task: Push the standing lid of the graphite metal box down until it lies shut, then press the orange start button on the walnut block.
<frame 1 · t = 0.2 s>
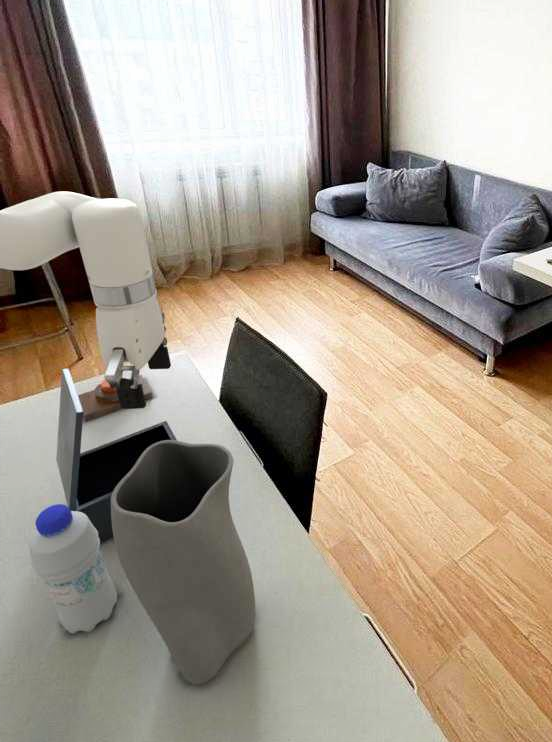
hand: (148, 386, 76), 23 cm above the table, tool pointing down, fingers open, 9 cm apart
bottle: (93, 615, 67), on the table
start button: (112, 385, 103), point 4 cm above the table, slide at 0.1 cm
vase: (212, 643, 65), on the table
lid: (68, 437, 73), point 17 cm above the table, hinge at 75.0°
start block: (116, 402, 105), on the table
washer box: (136, 499, 84), on the table
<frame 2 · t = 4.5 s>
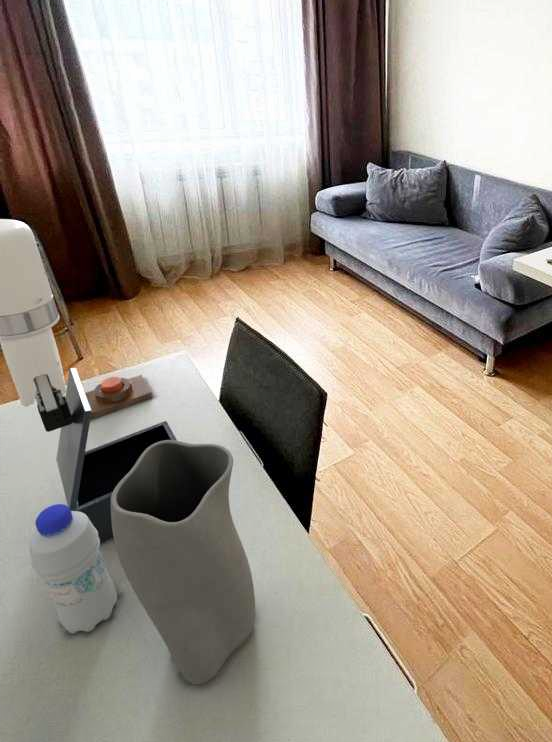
hand: (59, 424, 72), 20 cm above the table, tool pointing down, fingers closed
lid: (72, 436, 73), point 17 cm above the table, hinge at 71.7°
everything else where it was.
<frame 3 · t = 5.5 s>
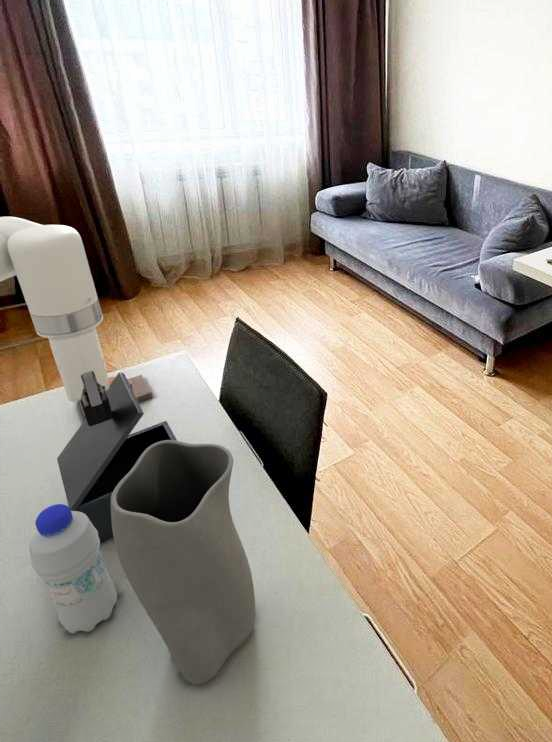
hand: (100, 419, 75), 18 cm above the table, tool pointing down, fingers closed
lid: (98, 437, 76), point 15 cm above the table, hinge at 47.8°, touching gripper
everything else where it was.
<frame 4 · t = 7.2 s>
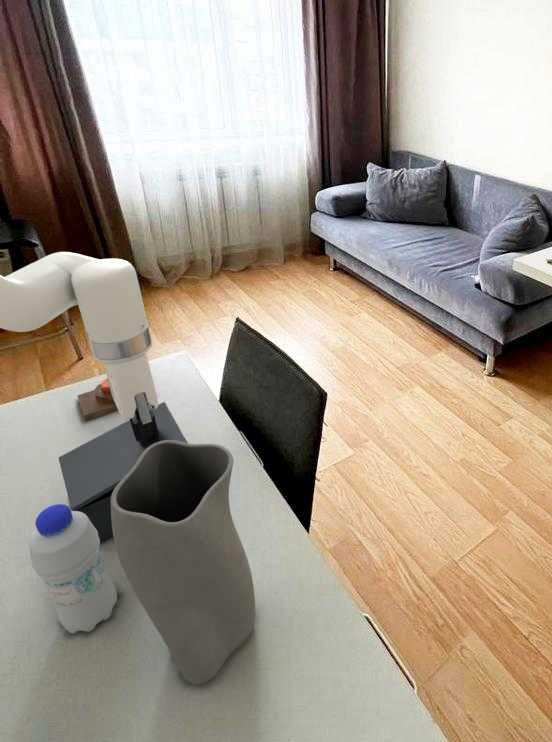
hand: (146, 435, 81), 12 cm above the table, tool pointing down, fingers closed
lid: (123, 451, 79), point 11 cm above the table, hinge at 11.6°, touching gripper
everything else where it was.
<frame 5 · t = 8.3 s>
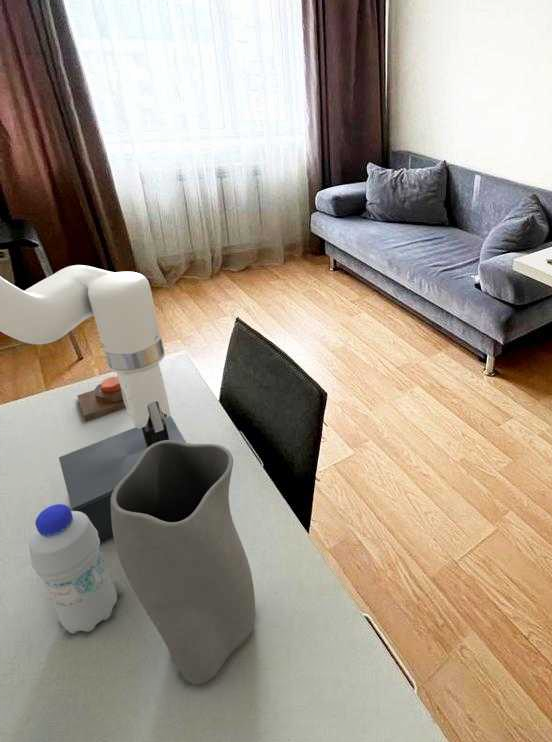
hand: (157, 442, 83), 10 cm above the table, tool pointing down, fingers closed
lid: (127, 457, 80), point 9 cm above the table, hinge at 1.0°, touching gripper
everything else where it was.
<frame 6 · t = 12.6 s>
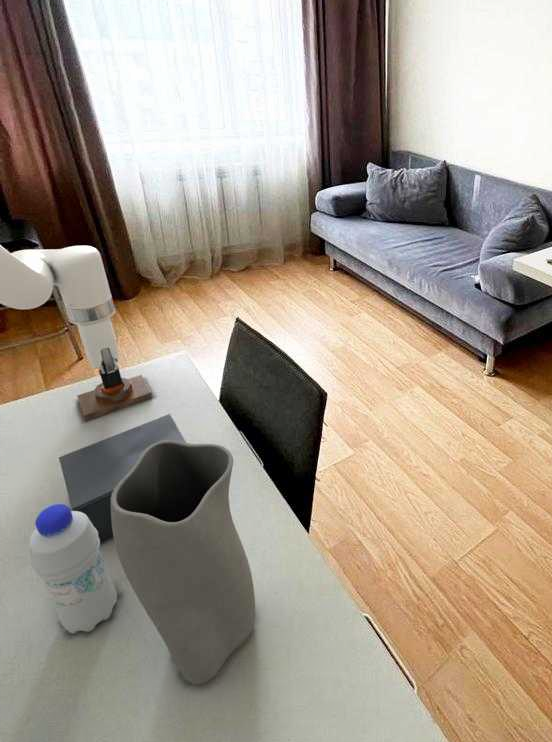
hand: (113, 384, 104), 5 cm above the table, tool pointing down, fingers closed
start button: (113, 388, 104), point 4 cm above the table, slide at -0.8 cm, touching gripper
lid: (127, 457, 80), point 9 cm above the table, hinge at 1.0°
everything else where it was.
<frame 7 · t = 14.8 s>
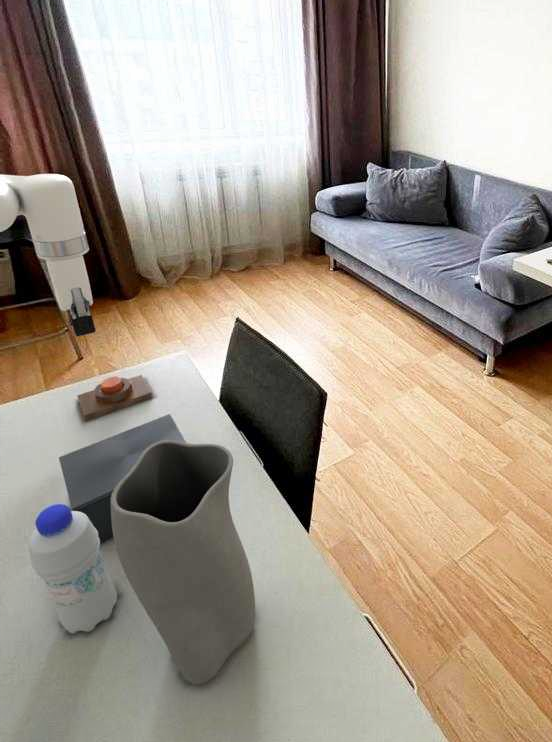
hand: (85, 332, 96), 19 cm above the table, tool pointing down, fingers closed
start button: (112, 385, 103), point 4 cm above the table, slide at 0.1 cm
everything else where it was.
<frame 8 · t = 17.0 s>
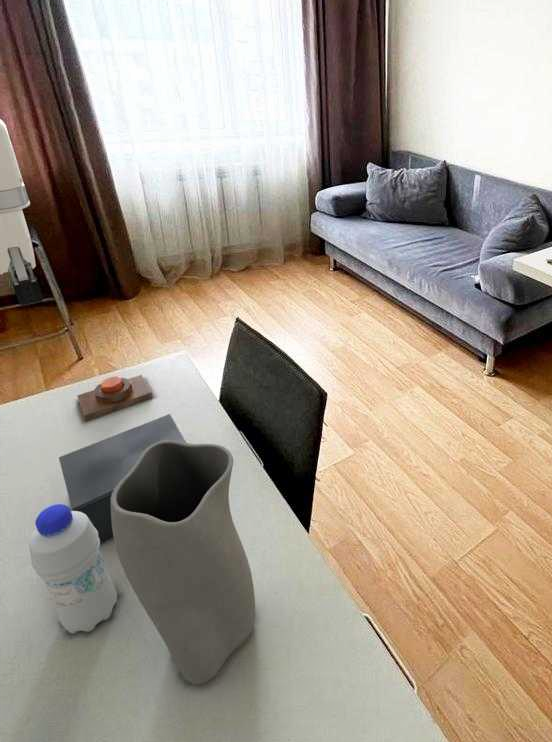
hand: (31, 301, 85), 29 cm above the table, tool pointing down, fingers closed
nothing on the table moved.
at the end: lid at +1° (first picture: +75°); start button pushed in 1.1 cm at the most during the clip, back to where it started at the end; start button slide at 0.1 cm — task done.
